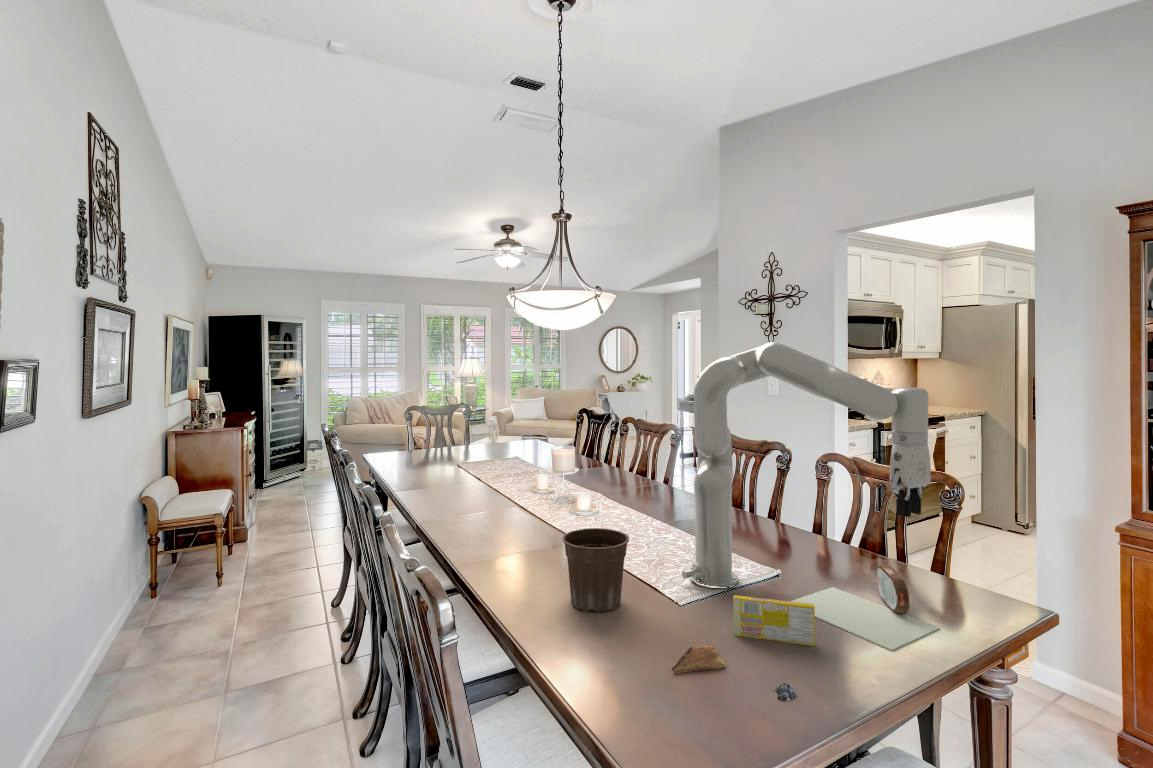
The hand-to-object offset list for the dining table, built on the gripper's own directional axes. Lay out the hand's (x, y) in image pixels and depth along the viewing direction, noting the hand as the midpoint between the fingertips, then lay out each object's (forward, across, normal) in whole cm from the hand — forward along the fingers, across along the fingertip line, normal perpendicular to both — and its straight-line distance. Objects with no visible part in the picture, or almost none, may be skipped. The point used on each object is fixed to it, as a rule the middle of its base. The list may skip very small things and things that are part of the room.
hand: (908, 513), depth 137 cm
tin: (+21, -7, 0) cm, 22 cm away
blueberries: (+22, -57, -10) cm, 62 cm away
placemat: (+21, -18, +1) cm, 28 cm away
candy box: (+22, -43, +4) cm, 48 cm away
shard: (+22, -63, +4) cm, 67 cm away
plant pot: (+21, -65, +39) cm, 79 cm away
